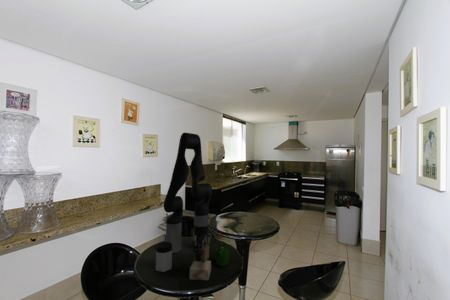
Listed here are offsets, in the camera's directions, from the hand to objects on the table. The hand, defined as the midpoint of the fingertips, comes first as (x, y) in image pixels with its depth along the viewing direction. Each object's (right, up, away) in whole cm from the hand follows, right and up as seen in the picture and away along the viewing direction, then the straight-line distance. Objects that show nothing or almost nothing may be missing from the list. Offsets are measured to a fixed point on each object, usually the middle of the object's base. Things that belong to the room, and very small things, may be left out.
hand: (201, 257), depth 107 cm
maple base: (0, -9, 0) cm, 9 cm away
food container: (-2, -9, +31) cm, 32 cm away
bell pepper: (+10, -9, +10) cm, 17 cm away
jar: (-20, -9, +6) cm, 23 cm away
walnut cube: (0, -1, 0) cm, 1 cm away
